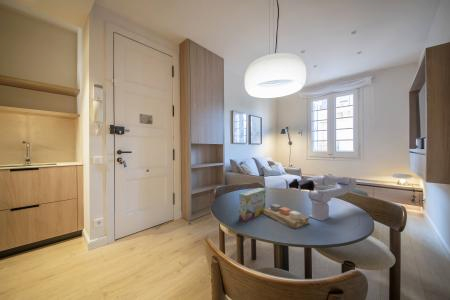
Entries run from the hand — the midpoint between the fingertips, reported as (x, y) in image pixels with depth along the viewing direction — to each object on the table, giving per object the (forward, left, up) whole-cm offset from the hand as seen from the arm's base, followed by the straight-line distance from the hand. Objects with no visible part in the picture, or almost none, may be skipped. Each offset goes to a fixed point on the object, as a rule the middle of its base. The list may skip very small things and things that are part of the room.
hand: (294, 186), depth 94 cm
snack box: (+11, -21, -21) cm, 31 cm away
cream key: (-2, -1, -19) cm, 19 cm away
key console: (-2, -8, -20) cm, 22 cm away
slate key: (-2, -15, -19) cm, 24 cm away
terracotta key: (-2, -8, -19) cm, 20 cm away
